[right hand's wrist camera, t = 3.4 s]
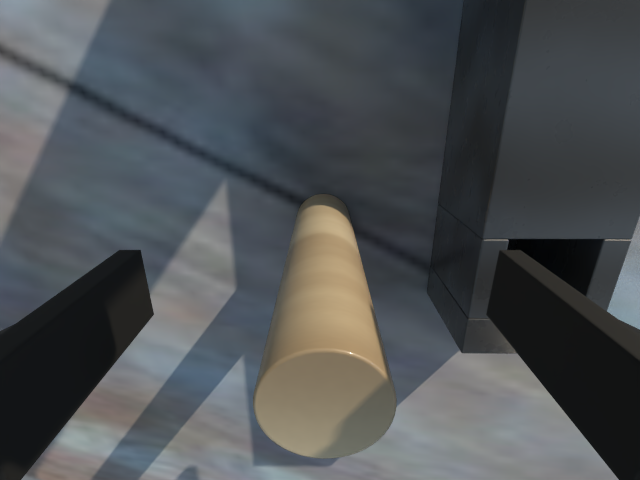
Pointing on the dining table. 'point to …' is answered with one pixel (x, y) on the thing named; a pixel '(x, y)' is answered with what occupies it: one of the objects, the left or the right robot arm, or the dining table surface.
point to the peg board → (537, 153)
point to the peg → (324, 344)
